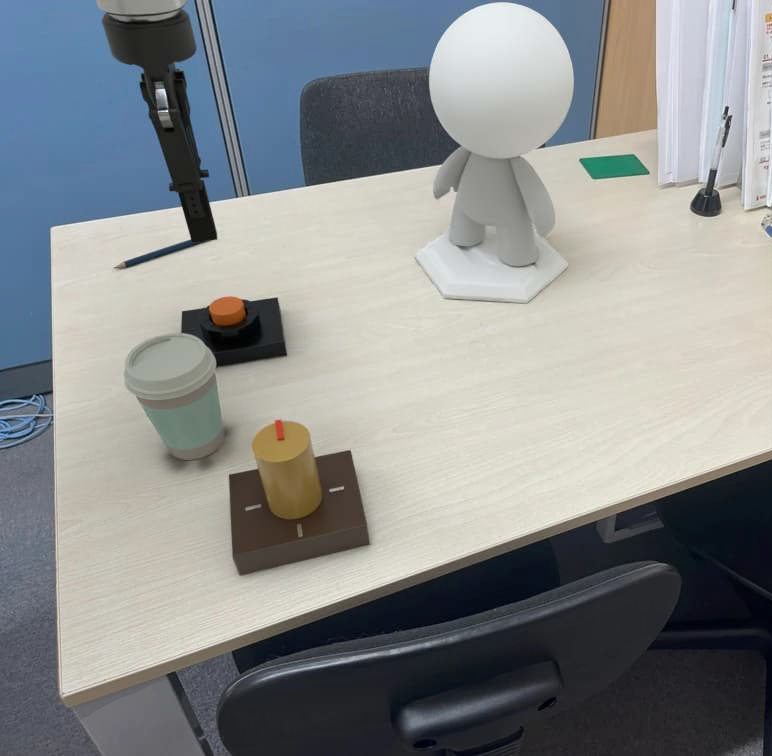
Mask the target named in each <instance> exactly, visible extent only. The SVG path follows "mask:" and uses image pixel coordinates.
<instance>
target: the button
mask: <svg viewBox="0 0 772 756" xmlns="http://www.w3.org/2000/svg"><path fill="white" fill-rule="evenodd" d="M241 299H242V298H240V297H237V296H232V295H231V296H230V295H229V296H223V297H219V298H217V299H214V300H213V301H212V302H211V303H210V304H209V305H210V306H209V305H208V306H209V311H210V314H211V317H212V321H213V322H214V323H215V324H216V325H220V326H227V325H234V324H236V323H238V322H240V321H242V320H244V319H245V317H246V312H245V308H244V305H243V301H242V300H241Z"/></svg>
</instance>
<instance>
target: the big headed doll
mask: <svg viewBox="0 0 772 756" xmlns="http://www.w3.org/2000/svg"><path fill="white" fill-rule="evenodd" d="M574 83H575V77H574V68H573V62H572V58H571V55H570V52H569V50H568V47H567V45H566V42H565V41H564V39H563V37H562V36H561V34H560V32H559V31H558V30H557V28H556V27H555V26H554V25H553V24H552V23H551V22H550V21H549V20H548V19H547V18H546V17H545V16H543V15H542V14H541V13H539V12H537V11H536V10H534V9H532V8H530V7H527V6H525V5H522V4H519V3H514V2H505V1H503V2H501V1H500V2H490V3H486V4H482V5H479V6H476V7H474V8H472V9H469V10H468V11H466V12H464V13H463V14H462V15H460V16H459V17H458V18H456V20H454V21H453V22H452V23H451V24H450V25H449V26H448V27H447V29H446V30H445V31H444V32H443V34H442V35H441V37H440V39H439V41H437V45H436V47H435V49H434V52H433V55H432V57H431V62H430V67H429V74H428V87H429V97H430V100H431V105H432V107H433V110H434V113H435V116H436V117H437V119H438V121H439V123H440V124H441V126H442V127H443V129H444V131H445V132H446V133H447V134H448V135H449V136H450V137H451V139H453V141H455V142H456V143H457V144H459V145H460V146H459V147H458V148H457V149H455V150H454V151H453V152H452V153H451V154H450V155H449V156H447V158H446V159H445V160H444V161H443V163H442V164H441V165H440V167H439V168H438V170H437V172H436V174H435V176H434V179H433V185H432V194H433V197H434V199H436V200H439V199H441V198H443V197H444V196H446V195H447V194H449V193H450V192H451V188H452V191H453V192H454V193H456V195H455V199H454V204H453V209H452V213H451V219H450V224H449V225H450V226H449V229H447V230H446V231H444V232H443V233H441V234H440V235H438V236H436V238H434V239H433V240H431V241H429V242H428V243H426V244H425V245H424V246H422V247H421V248H420V249H419V250H418V251H416V253H414V259H415V261H416V262H417V263H418V265H419V266H420V267H421V268H422V270H423V271H424V273H425V274H426V275H427V277H428V278H429V279H430V281H431V282H432V284H434V286H435V287H436V289H437V290H438V292H439V293H440V294H441V296H442V297H443V298H444V299H449V300H450V299H451V300H466V301H482V302H483V301H484V302H500V303H514V304H528V303H529V302H530V301H531V300H532V299H533V298H535V297H536V296H537V295H538V294H539V293H540V292H542V291H543V290H544V289H545V288H547V286H548V285H549V284H550V283H552V282H553V281H554V280H555V279H556V278H558V277H559V276H560V275H562V273H563V272H564V271H565V270H566V269H567V268H568V267H569V263H568V262H567V260H566V259H565V258H564V257H563V256H562V255H561V254H560V253H559V252H558V251H557V250H556V249H555V248H554V247H553V246H552V245H551V244H550V243H549V242H548V241H547V240H546V239H545V238H544V236H546V235H548V234H550V233H551V232H552V231H553V230H554V227H555V225H556V211H555V210H556V209H555V207H554V202H553V199H552V198H551V195H550V194H549V191H548V190H547V188H546V186H545V185H544V182H543V181H542V179H541V177H540V176H539V174H538V172H537V171H536V170H535V168H533V166H532V164H530V162H529V161H528V160H526V159H525V157H523V156H524V155H526V154H529V153H531V152H533V151H535V150H537V149H539V148H540V147H541V146H543V145H545V143H547V142H548V141H549V140H550V139H551V138H553V136H554V135H555V134H556V133H557V131H558V130H559V129H560V127H561V126H562V125H563V123H564V121H565V119H566V117H567V115H568V114H569V110H570V107H571V104H572V102H573V101H572V100H573V96H574V90H575V89H574V87H575V84H574ZM533 226H534V227H535V228H536V230H537V231H536V230H535V229H534V227H533Z"/></svg>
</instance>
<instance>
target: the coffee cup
mask: <svg viewBox="0 0 772 756" xmlns="http://www.w3.org/2000/svg"><path fill="white" fill-rule="evenodd" d="M216 368H217V367H216V359H215V357H214V355H213V353H212V352H211V350H210V349H209V348H208V347H207V346H206V345H205V344H204V343H203V341H202V340H200V339H199V338H197V337H195V336H193V335H190V334H185V333H181V332H170V333H164V334H158V335H155V336H153V337H149V338H147V339H145V340H144V341H142V342H140V343H139V344H137V345H136V346H134V347H133V348H132V349H131V350H130V351H129V353H128V354H127V356H126V357H125V360H124V369H123V379H124V380H123V381H124V385H125V388H126V390H128V391H129V393H131V394H132V395H134V396H135V397H136V400H137V401H138V403H139V404H140V406H141V408H142V409H143V411H144V412H145V415H146V416H147V417H148V419H149V421H150V423H151V424H152V426H153V427H154V429H155V430H156V432H157V434H158V435H159V437H160V439H161V440H162V442H163V443H164V445H165V447H166V448H167V450H168V452H169V453H170V454H171V455H172V456H173V457H174V458H176V459H178V460H183V461H195V460H199V459H203V458H205V457H208V456H211V454H213V453H214V452H216V451H217V450H218V449H219V448H220V447H221V446H222V445H223V442H224V440H225V430H224V422H223V416H222V410H221V402H220V396H219V389H218V383H217V376H216Z"/></svg>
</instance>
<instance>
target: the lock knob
mask: <svg viewBox="0 0 772 756" xmlns="http://www.w3.org/2000/svg"><path fill="white" fill-rule="evenodd" d="M310 433H311V432H310V431H309V430H308V428H306V427H305V426H304V425H303V424H301V423H299V422H295V421H291V420H285V421H282V419H281V418H280V419H276V420H274V423H271V424H267V426H265V427H263V428H262V429H260V430H259V431H258V432H257V433H256V434H255V435H254V437H253V440H252V443H251V449H252V453H253V456H254V459H255V464H256V467H257V469H258V470H259V474H260V477H261V480H262V484H263V487H264V491H265V494H266V498H267V501H268V504H269V508H270V510H271V511H272V513H273V514H275V515H276V516H278V517H280V518H283V519H299V518H302V517H305V516H307V515H309V514H311V513H312V512H313V511H315V510H316V508H317V507H318V506H319V504H320V503H321V500H322V489H321V485H320V480H319V475H318V470H317V466H316V461H315V457H316V456H315V453H314V447H313V442H312V437H311V434H310Z"/></svg>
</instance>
